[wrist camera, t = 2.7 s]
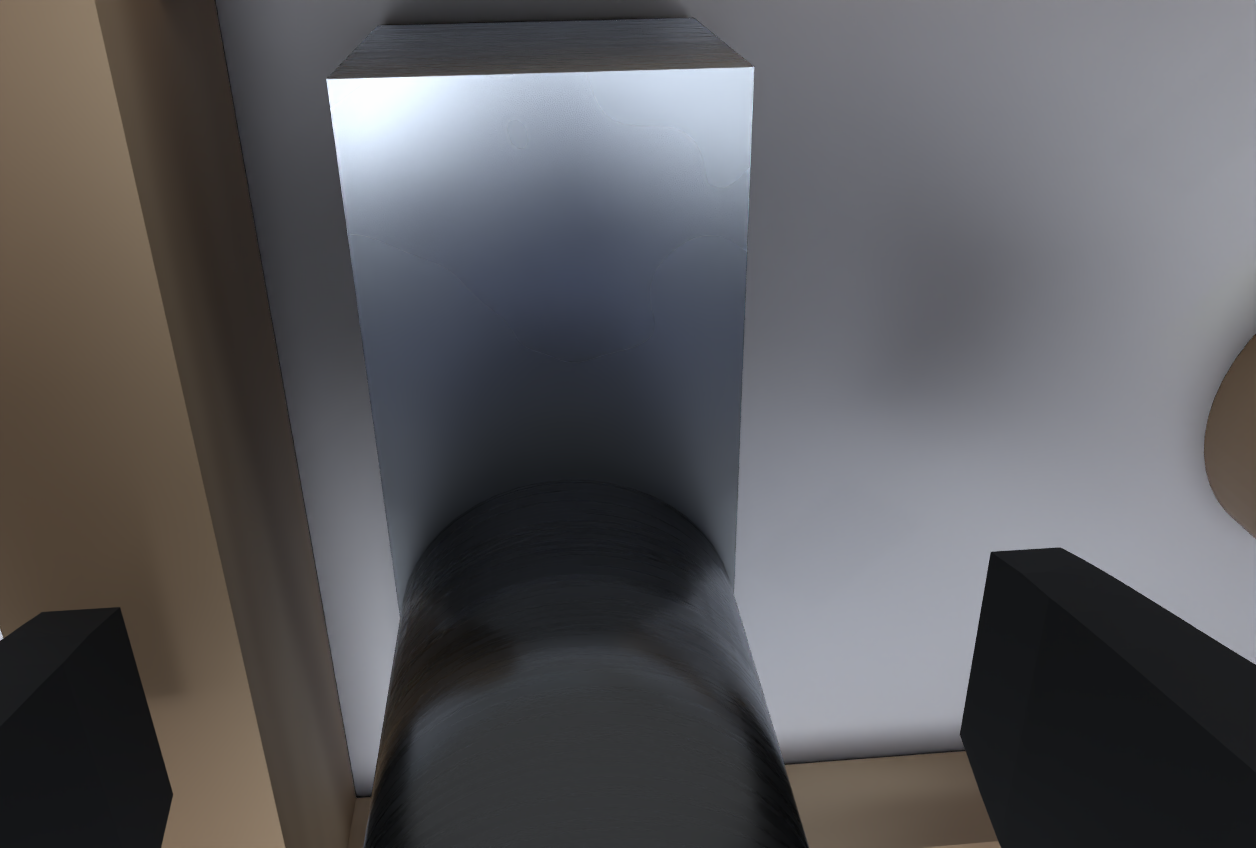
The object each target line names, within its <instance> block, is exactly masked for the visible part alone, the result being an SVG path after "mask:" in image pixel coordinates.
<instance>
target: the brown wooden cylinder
mask: <svg viewBox="0 0 1256 848" xmlns="http://www.w3.org/2000/svg"><path fill="white" fill-rule="evenodd" d="M1204 459H1205V468H1206V473H1207V476H1208V480H1209V483H1210V486H1211V488H1212V490H1213V493H1214V495H1215V497H1216V499H1217V500H1218V502H1219V503H1220V504H1221V506H1222V507H1223V508H1224V510H1225V511H1226V512H1227V513H1228V514H1229V515H1230V516H1231V517H1232V518H1233V519H1234V520H1235V521H1237V522H1238V523H1239V524H1240V525H1241V526H1242V527H1243V528H1244V529H1245V530H1247V531H1248V532H1249V533H1250V534H1251V535H1252V536H1253V537H1254V538H1255V539H1256V334H1255V335H1254V336H1253V337H1252V339H1251V340H1250V341H1249V342H1248V343H1247V345H1246V346H1245V347H1244V349H1243V350H1242V351H1241V353H1240V354H1239V355H1238V356H1237V358H1236V359H1235V361H1234V362H1233V364H1232V366H1231V367H1230V369H1229V371H1228V372H1227V374H1226V375H1225V377H1224V379H1223V381H1222V383H1221V385H1220V387H1219V390H1218V392H1217V394H1216V396H1215V398H1214V401H1213V404H1212V407H1211V410H1210V413H1209V416H1208V421H1207V427H1206V432H1205V441H1204Z"/></svg>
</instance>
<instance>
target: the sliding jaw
mask: <svg viewBox="0 0 1256 848" xmlns="http://www.w3.org/2000/svg"><path fill="white" fill-rule="evenodd" d="M326 81H327V88H328V95H329V103H330V110H331V117H332V124H333V132H334V139H335V146H336V154H337V161H338V168H339V176H340V183H341V190H342V197H343V205H344V212H345V219H346V227H347V234H348V241H349V248H350V256H351V263H352V270H353V278H354V285H355V292H356V300H357V307H358V314H359V321H360V329H361V336H362V343H363V351H364V358H365V365H366V372H367V380H368V387H369V394H370V402H371V409H372V416H373V424H374V431H375V438H376V445H377V453H378V460H379V467H380V475H381V482H382V489H383V497H384V504H385V511H386V518H387V526H388V533H389V540H390V548H391V555H392V562H393V569H394V577H395V584H396V591H397V599H398V606H399V613H400V623H399V629H398V635H397V641H396V647H395V654H394V660H393V666H392V672H391V678H390V685H389V691H388V697H387V703H386V709H385V715H384V722H383V728H382V734H381V740H380V746H379V753H378V759H377V765H376V771H375V777H374V784H373V790H372V796H371V802H370V808H369V814H368V821H367V827H366V833H365V839H364V845H363V848H809V845H808V842H807V839H806V835H805V832H804V829H803V825H802V822H801V818H800V815H799V812H798V808H797V805H796V802H795V798H794V795H793V792H792V788H791V785H790V781H789V778H788V775H787V771H786V768H785V765H784V761H783V758H782V755H781V751H780V748H779V745H778V741H777V738H776V734H775V731H774V728H773V724H772V721H771V718H770V714H769V711H768V708H767V704H766V701H765V698H764V694H763V691H762V687H761V684H760V681H759V677H758V674H757V671H756V667H755V664H754V661H753V657H752V654H751V650H750V647H749V644H748V640H747V637H746V634H745V630H744V627H743V624H742V620H741V617H740V614H739V610H738V607H737V603H736V600H735V597H734V577H735V551H736V525H737V500H738V474H739V448H740V422H741V397H742V371H743V345H744V320H745V294H746V268H747V243H748V217H749V191H750V166H751V140H752V114H753V89H754V66H752V65H751V64H750V63H749V62H747V61H746V60H745V59H744V58H743V57H741V56H740V55H739V54H738V53H736V52H735V51H734V50H733V49H731V48H730V47H729V46H728V45H727V44H725V43H724V42H723V41H722V40H720V39H719V38H718V37H717V36H715V35H714V34H713V33H712V32H711V31H709V30H708V29H707V28H706V27H704V26H703V25H702V24H701V23H699V22H698V21H697V20H696V19H695V18H667V19H627V20H587V21H547V22H507V23H467V24H427V25H387V26H377V27H376V28H375V29H374V30H373V31H372V32H371V33H370V34H369V35H368V36H367V37H366V38H365V39H364V40H363V41H362V43H361V44H360V45H359V46H358V47H357V48H356V49H355V50H354V51H353V52H352V53H351V54H350V55H349V56H348V57H347V58H346V59H345V60H344V61H343V62H342V63H341V64H340V66H339V67H338V68H337V69H336V70H335V71H334V72H333V73H332V74H331V75H330V76H329V77H328V78H327V79H326Z"/></svg>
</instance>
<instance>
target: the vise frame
mask: <svg viewBox="0 0 1256 848" xmlns="http://www.w3.org/2000/svg"><path fill="white" fill-rule="evenodd" d="M112 607H120V608H121V612H122V615H123V619H124V622H125V626H126V629H127V633H128V637H129V640H130V644H131V647H132V651H133V654H134V658H135V661H136V665H137V668H138V672H139V675H140V679H141V682H142V686H143V689H144V693H145V696H146V700H147V704H148V707H149V711H150V714H151V718H152V721H153V725H154V728H155V732H156V735H157V739H158V742H159V746H160V749H161V753H162V756H163V760H164V763H165V767H166V771H167V774H168V778H169V781H170V785H171V788H172V792H173V798H172V802H171V807H170V811H169V815H168V820H167V824H166V829H165V833H164V837H163V842H162V846H161V848H363V845H364V839H365V833H366V827H367V821H368V814H369V808H370V802H371V797H363V798H356V794H355V789H354V783H353V777H352V772H351V766H350V760H349V755H348V749H347V743H346V738H345V732H344V726H343V721H342V715H341V710H340V704H339V698H338V693H337V687H336V681H335V676H334V670H333V664H332V659H331V653H330V647H329V642H328V636H327V631H326V625H325V619H324V614H323V608H322V602H321V597H320V591H319V585H318V580H317V574H316V568H315V563H314V557H313V552H312V546H311V540H310V535H309V529H308V523H307V518H306V512H305V506H304V501H303V495H302V489H301V484H300V478H299V473H298V467H297V461H296V456H295V450H294V444H293V439H292V433H291V427H290V422H289V416H288V410H287V405H286V399H285V394H284V388H283V382H282V377H281V371H280V365H279V360H278V354H277V348H276V343H275V337H274V331H273V326H272V320H271V315H270V309H269V303H268V298H267V292H266V286H265V281H264V275H263V269H262V264H261V258H260V252H259V247H258V241H257V236H256V230H255V224H254V219H253V213H252V207H251V202H250V196H249V190H248V185H247V179H246V174H245V168H244V162H243V157H242V151H241V145H240V140H239V134H238V128H237V123H236V117H235V111H234V106H233V100H232V95H231V89H230V83H229V78H228V72H227V66H226V61H225V55H224V49H223V44H222V38H221V32H220V27H219V21H218V16H217V10H216V4H215V0H0V629H1V632H2V635H3V638H5V637H6V636H8V635H9V634H10V633H12V632H13V631H15V630H16V629H17V628H19V627H20V626H22V625H23V624H25V623H26V622H28V621H29V620H31V619H32V618H34V617H35V616H37V615H38V614H40V613H41V612H48V611H64V610H80V609H96V608H112ZM785 768H786V771H787V775H788V778H789V781H790V785H791V788H792V792H793V795H794V798H795V802H796V805H797V808H798V812H799V815H800V818H801V822H802V825H803V829H804V832H805V835H806V839H807V842H808V845H809V848H1001V846H1000V844H999V842H998V839H997V837H996V834H995V831H994V829H993V826H992V823H991V821H990V818H989V815H988V813H987V810H986V807H985V805H984V802H983V800H982V797H981V794H980V791H979V788H978V786H977V783H976V780H975V777H974V774H973V771H972V768H971V765H970V762H969V759H968V757H967V754H966V751H959V752H946V753H933V754H920V755H907V756H894V757H881V758H868V759H855V760H842V761H829V762H816V763H803V764H790V765H785Z"/></svg>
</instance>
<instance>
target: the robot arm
mask: <svg viewBox="0 0 1256 848" xmlns="http://www.w3.org/2000/svg"><path fill="white" fill-rule="evenodd" d="M960 736H961V739H962V742H963V745H964V748H965V751H966V754H967V757H968V759H969V762H970V765H971V768H972V771H973V774H974V777H975V780H976V783H977V786H978V788H979V791H980V794H981V797H982V800H983V802H984V805H985V807H986V810H987V813H988V815H989V818H990V821H991V823H992V826H993V829H994V831H995V834H996V837H997V839H998V842H999V844H1000V846H1001V848H1256V665H1255V664H1253V663H1252V662H1250V661H1248V660H1247V659H1245V658H1243V657H1242V656H1240V655H1239V654H1237V653H1235V652H1234V651H1232V650H1230V649H1229V648H1227V647H1226V646H1224V645H1222V644H1221V643H1219V642H1218V641H1216V640H1214V639H1213V638H1211V637H1209V636H1208V635H1206V634H1205V633H1203V632H1201V631H1200V630H1198V629H1197V628H1195V627H1193V626H1192V625H1190V624H1189V623H1187V622H1185V621H1184V620H1182V619H1181V618H1179V617H1177V616H1176V615H1174V614H1172V613H1171V612H1169V611H1168V610H1166V609H1164V608H1163V607H1161V606H1160V605H1158V604H1156V603H1155V602H1153V601H1152V600H1150V599H1148V598H1147V597H1145V596H1143V595H1142V594H1140V593H1139V592H1137V591H1135V590H1134V589H1132V588H1130V587H1129V586H1127V585H1125V584H1124V583H1122V582H1121V581H1119V580H1117V579H1116V578H1114V577H1112V576H1111V575H1109V574H1107V573H1106V572H1104V571H1102V570H1100V569H1099V568H1097V567H1095V566H1094V565H1092V564H1090V563H1088V562H1087V561H1085V560H1083V559H1081V558H1079V557H1077V556H1076V555H1074V554H1072V553H1070V552H1068V551H1066V550H1064V549H1062V548H1044V549H1028V550H1013V551H997V552H991V554H990V560H989V566H988V572H987V578H986V584H985V590H984V596H983V601H982V607H981V613H980V619H979V625H978V631H977V637H976V643H975V649H974V655H973V660H972V666H971V672H970V678H969V684H968V690H967V696H966V702H965V708H964V713H963V719H962V725H961V731H960ZM172 798H173V792H172V788H171V785H170V781H169V778H168V774H167V771H166V767H165V763H164V760H163V756H162V753H161V749H160V746H159V742H158V739H157V735H156V732H155V728H154V725H153V721H152V718H151V714H150V711H149V707H148V704H147V700H146V696H145V693H144V689H143V686H142V682H141V679H140V675H139V672H138V668H137V665H136V661H135V658H134V654H133V651H132V647H131V644H130V640H129V637H128V633H127V629H126V626H125V622H124V619H123V615H122V612H121V608H120V607H112V608H96V609H80V610H64V611H48V612H41V613H40V614H38V615H37V616H35V617H34V618H32V619H31V620H29V621H28V622H26V623H25V624H23V625H22V626H20V627H19V628H17V629H16V630H15V631H13V632H12V633H10V634H9V635H8V636H6V637H5V638H4V639H2V640H1V641H0V848H161V846H162V842H163V837H164V833H165V829H166V824H167V820H168V815H169V811H170V807H171V802H172Z"/></svg>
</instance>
